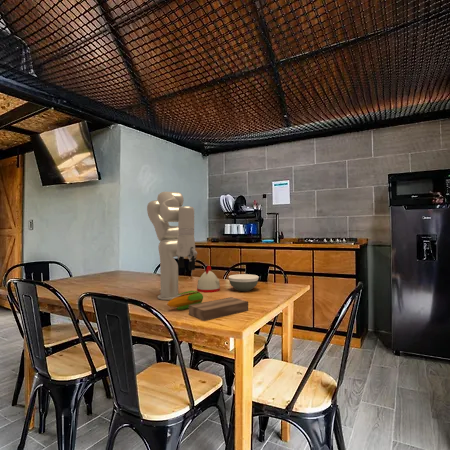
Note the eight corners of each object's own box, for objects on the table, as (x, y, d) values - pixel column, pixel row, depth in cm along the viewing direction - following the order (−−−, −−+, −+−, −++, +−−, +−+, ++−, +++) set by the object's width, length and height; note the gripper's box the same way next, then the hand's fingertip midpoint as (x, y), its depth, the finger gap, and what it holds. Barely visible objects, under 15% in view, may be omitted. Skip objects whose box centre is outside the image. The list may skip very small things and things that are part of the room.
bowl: (234, 286, 196) (234, 273, 196) (262, 288, 189) (262, 274, 189) (223, 291, 179) (223, 277, 179) (254, 293, 172) (254, 279, 172)
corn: (206, 289, 147) (172, 295, 133) (207, 305, 146) (172, 313, 132) (197, 288, 152) (163, 294, 138) (198, 303, 152) (163, 311, 138)
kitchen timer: (222, 288, 188) (222, 264, 189) (216, 293, 175) (216, 267, 175) (201, 287, 192) (201, 264, 192) (193, 292, 179) (193, 266, 179)
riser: (188, 314, 131) (188, 305, 131) (231, 305, 146) (231, 297, 146) (204, 320, 121) (204, 310, 121) (248, 310, 136) (248, 301, 136)
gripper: (170, 232, 147) (170, 267, 147) (188, 233, 134) (189, 271, 134) (183, 232, 152) (184, 266, 152) (203, 232, 138) (203, 270, 138)
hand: (186, 268), depth 143 cm, fingers open, 9 cm apart
